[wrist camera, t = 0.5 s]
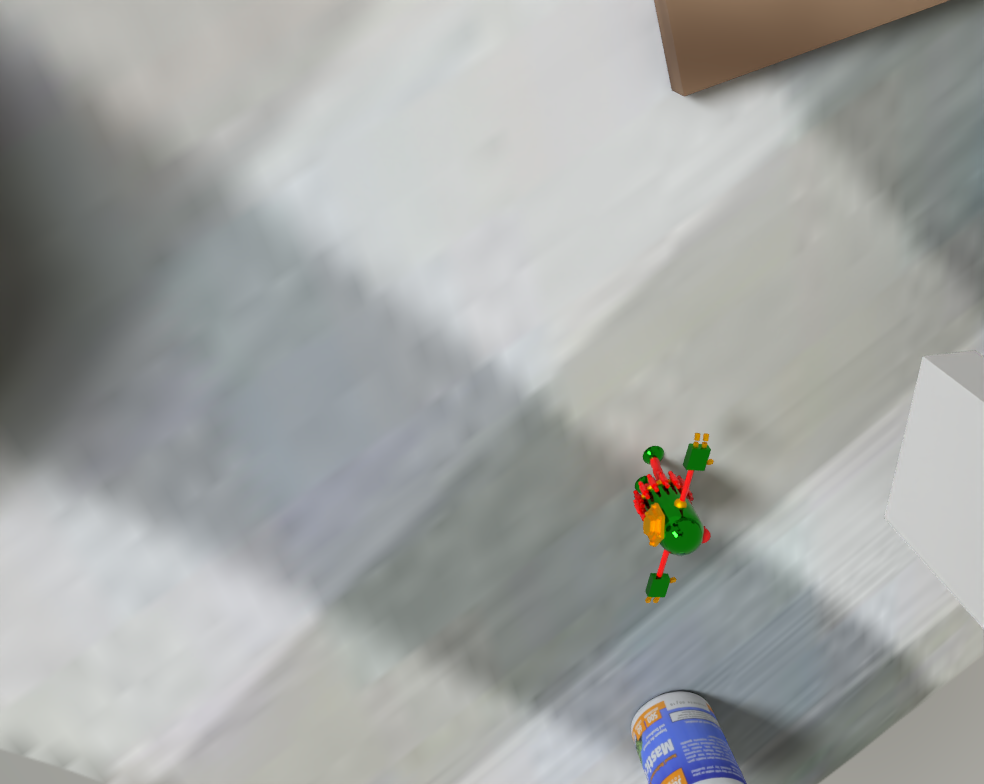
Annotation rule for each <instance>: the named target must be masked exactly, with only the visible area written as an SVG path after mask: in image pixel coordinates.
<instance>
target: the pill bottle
mask: <svg viewBox="0 0 984 784" xmlns="http://www.w3.org/2000/svg"><path fill="white" fill-rule="evenodd" d="M631 733H632V737H633V741H634V744H635V746H636V749H637V752H638V755H639V758H640V761H641V763H642V766H643V769H644V772H645V775H646V777H647V780H648V783H649V784H747V783H746V781H745V779H744V777H743V775H742V773H741V771H740V768H739V766H738V764H737V762H736V760H735V758H734V756H733V753H732V751H731V749H730V747H729V745H728V743H727V741H726V738H725V736H724V734H723V732H722V730H721V727H720V725H719V723H718V721H717V719H716V717H715V714H714V712H713V711H712V709H711V707H710V705H709V704H708V703H707V701H706V700H705V699H703V698H702V697H701V696H699V695H697V694H694V693H691V692H683V691H677V692H670V693H665V694H662V695H659V696H657V697H655V698H653V699H652V700H650V701H649V702H647V703H646V704H645V705H643V706H642V707H641V708H640V709H639V711H638V712H637V713H636V715H635V717H634V718H633V721H632V725H631Z"/></svg>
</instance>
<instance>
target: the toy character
mask: <svg viewBox="0 0 984 784" xmlns="http://www.w3.org/2000/svg"><path fill="white" fill-rule="evenodd" d="M708 438H709V434H706V433H704V435H703V441H708ZM694 440H696V441H700V433H695V438H694ZM710 451H711V449H710V448H709V446H708V445H707V442H702V444H699V443H698V442H694V443H693V444H689V446H688V449H687V452H686V456H685V459H684V462H683V466H684V467H685V469H686V470H688V472H687V476H686V479H685V481H684V479H682V478H681V476H680V475H679V476H677V477H676V475H675V474H673V472H672V471H669V472H668V474H669V476H670V477H669V478H670V479H667V477H666V476H665V474H663V470H662V468H661V466H660V461H661V460H662V459H663V457H664V450H663V449H662V448H661V447H659V446H652V447H649V448H648V449H647V450H646V451H645V452H644V454H643V460H644V462H645V463H647V464H650V465H651V467H652V468H653V474H654V476H655V478H656V481H655V479H654V478H653V477H652V476H651V474H648V475H647V476H643V477H641V478H639V479H638V480H637V481H636V483H635V489H636V490H635V491H634V492H633V493H634V495H635V496H634V497H635V500H634V501H633V502H634V504H635V505H634V506H635V508H636V510H637V513H638V514H640V517H641V519H642V521H644V523H643V530H644V534H646V535H647V536H648V538H649V540H650V542H649V545H650V546H653V547H656V546H657V545H658V544H659V543H660V544H661V546H662V547H663V548H664V552H663V555H662V559H661V562H660V565H659V569H658V572H657V573H651V574H650V577H649V580H648V584H647V587H646V594H647V596H648V597H647V598H646V600H645V601H646V603H650V601H651V598H652V597H655V598H654V599H653V602H654V603H657V602H658V601H659V598H660V597H665V595H666V592H667V589H668V586H669V583H673V582H676V578H675V577H673V578H669V576H668V574H664V573H663V571H664V568H665V565H666V562H667V558H668V555H669V553H670V554H674V555H678V556H684V555H689V554H691V553H693V552H694V551H696V550H697V549H698V548H699V546H700V545H701V543H706V542H707V541H708V540H709V539H710V532H709V531H708V530H707V529H706V528H705V526H703V523H702V521H701V520H700V518H699V516H698V514H697V513H696V511H695V509H694V508H693V506H692V502H691V501H693V499H694V498H693V496H692V493H691V491H690V489H689V486H690V483H691V480H692V476H693V473H694V470H698V471H704V470H705V467H706V464H707V465H711V464H713V462H714V461H713V460H712V459H709V460H708V457H709V454H710ZM638 492H639V493H642V495H641V494H639V493H638Z"/></svg>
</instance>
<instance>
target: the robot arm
mask: <svg viewBox="0 0 984 784" xmlns="http://www.w3.org/2000/svg"><path fill="white" fill-rule="evenodd" d="M884 519H885V520H886V521H887V522H888V523H889V524H890V525H891V526H892V528H893V529H894V530H895V531H896V532H897V533H898V534H899V535H900V536H901V538H902V539H903V540H904V541H905V542H906V543H907V544H908V545H909V547H910V548H911V549H912V550H913V551H914V552H915V553H916V554H917V555H918V557H919V558H920V559H921V560H922V561H923V562H924V563H925V564H926V565H927V567H928V568H929V569H930V570H931V571H932V572H933V573H934V574H935V576H936V577H937V578H938V579H939V580H940V581H941V582H942V583H943V584H944V586H945V587H946V588H947V589H948V590H949V591H950V592H951V593H952V594H953V596H954V597H955V598H956V599H957V600H958V601H959V602H960V603H961V605H962V606H963V607H964V608H965V609H966V610H967V611H968V612H969V613H970V615H971V616H972V617H973V618H974V619H975V620H976V621H977V622H978V623H979V625H980V626H981V627H982V628H983V629H984V356H983V355H981V354H980V353H978V352H977V351H975V350H974V351H965V352H956V353H946V354H937V355H928V356H923V358H922V362H921V366H920V370H919V374H918V379H917V383H916V387H915V391H914V395H913V399H912V404H911V408H910V412H909V416H908V420H907V425H906V429H905V433H904V437H903V441H902V446H901V450H900V454H899V458H898V462H897V467H896V471H895V475H894V479H893V483H892V487H891V492H890V496H889V500H888V504H887V508H886V513H885V517H884Z"/></svg>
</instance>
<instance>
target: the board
mask: <svg viewBox="0 0 984 784" xmlns="http://www.w3.org/2000/svg"><path fill="white" fill-rule="evenodd" d="M947 1H949V0H654V2H655V7H656V12H657V17H658V22H659V27H660V32H661V37H662V43H663V48H664V53H665V58H666V63H667V68H668V73H669V78H670V83H671V88H672V90H673V91H675V92H677V93H679V94H681V95H682V96H687V95H689V94H692V93H695V92H698V91H700V90H703V89H706V88H709V87H712V86H714V85H717V84H720V83H723V82H725V81H728V80H731V79H734V78H736V77H739V76H742V75H745V74H748V73H750V72H753V71H756V70H759V69H761V68H764V67H767V66H770V65H772V64H775V63H778V62H781V61H783V60H786V59H789V58H792V57H795V56H797V55H800V54H803V53H806V52H808V51H811V50H814V49H817V48H819V47H822V46H825V45H828V44H830V43H833V42H836V41H839V40H842V39H844V38H847V37H850V36H853V35H855V34H858V33H861V32H864V31H866V30H869V29H872V28H875V27H877V26H880V25H883V24H886V23H889V22H891V21H894V20H897V19H900V18H902V17H905V16H908V15H911V14H913V13H916V12H919V11H922V10H925V9H927V8H930V7H933V6H936V5H938V4H941V3H944V2H947Z"/></svg>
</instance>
